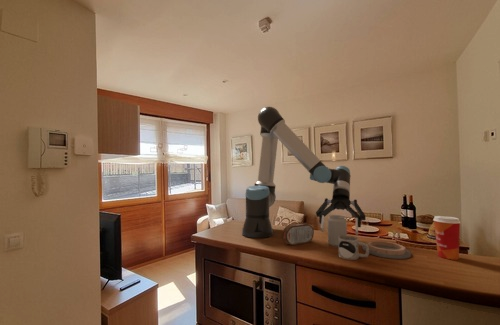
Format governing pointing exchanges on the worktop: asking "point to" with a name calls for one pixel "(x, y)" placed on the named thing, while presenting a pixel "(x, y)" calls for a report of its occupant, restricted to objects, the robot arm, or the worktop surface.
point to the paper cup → (447, 236)
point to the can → (336, 228)
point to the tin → (298, 233)
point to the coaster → (407, 255)
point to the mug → (350, 248)
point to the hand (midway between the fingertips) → (338, 231)
